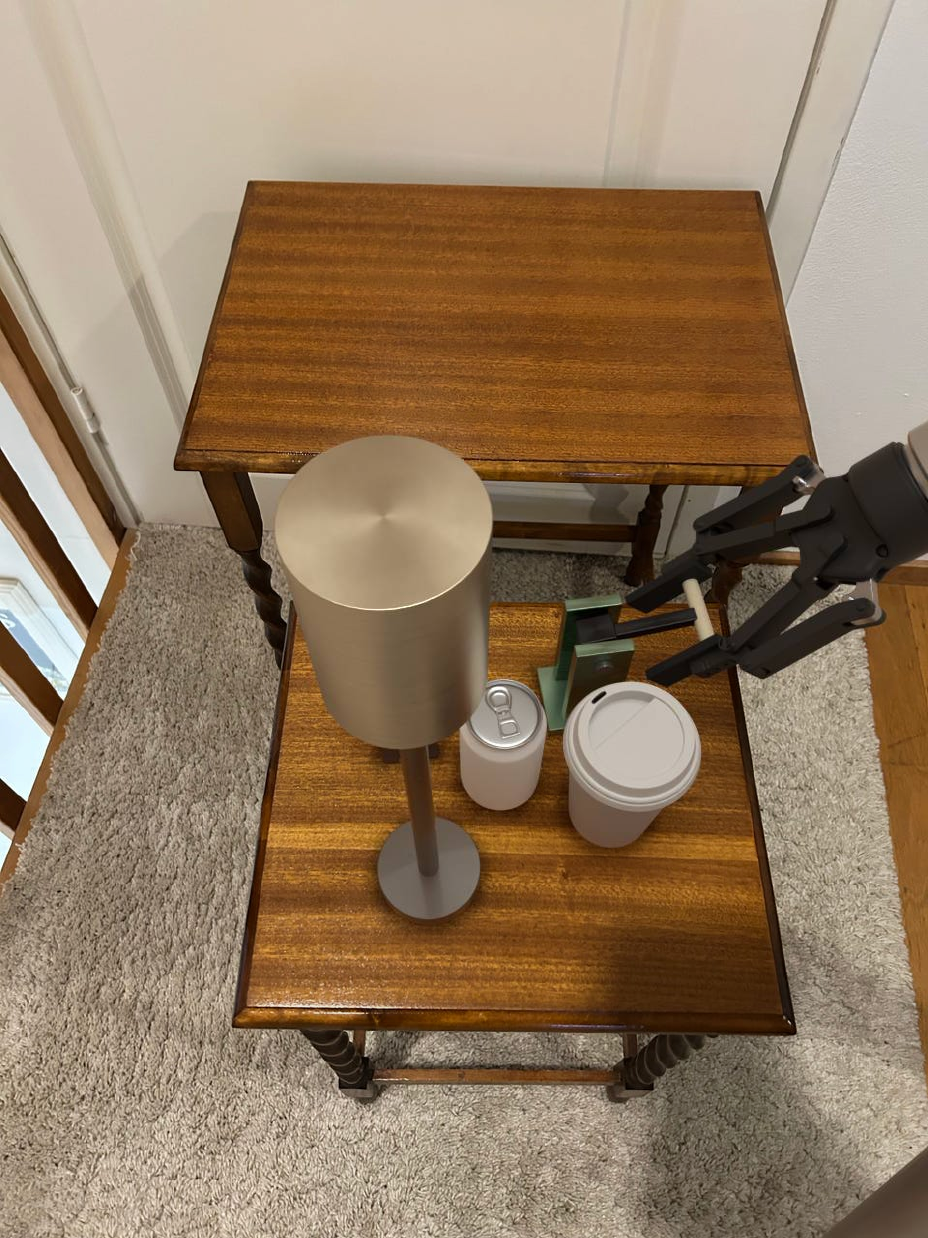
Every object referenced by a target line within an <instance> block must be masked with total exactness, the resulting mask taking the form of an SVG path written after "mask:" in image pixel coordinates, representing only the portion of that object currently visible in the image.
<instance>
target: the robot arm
mask: <svg viewBox="0 0 928 1238" xmlns="http://www.w3.org/2000/svg"><path fill="white" fill-rule="evenodd" d="M805 496H806V497H807V496H809V498H808V499H807V501H806V503H805V504H804V506H803V508H802V509H799V510H795V511H790V512H787V513H784V514H780V515H776V516H775V517H774V519H773V520H769V521H767V522H763V523H759V524H755V523H756V522H758V521H761V520H762V519H764V518H766V517H768V516H770V515H772V514H774V513H776V512H778V511H780V510H782V509H784V508H786V507H788V506H790V505H792V504H793V503H795V502H798V501H799V500H800V499H801V498H804V497H805ZM752 524H755V525H752ZM750 525H751V526H750ZM692 529H693V531H695V542H693V544H692V546H691V547H690V548H689V549H687V550H686V551H684V552H683V553H681V554H679V555H678V556H676V557H674V558H673V559H671V560H669V561H667V562H666V563H664V564H663V565H662V566H661V568H660V572H661V575H659V576H657V577H656V578H654V579H652V580H650V581H649V582H647V583H645V584H644V585H641V586H640V587H638V588H637V589H635V590H633V591H632V592H630V593H628V594H627V595H625V596H624V600H625V604H626V605H627V606H629V607H631V608H632V609H635V610H637V611H639V612H641V613H642V614H645V615H647V614H649V613H651V612H653V611H655V610H656V609H658V608H660V607H662V606H664V605H666V604H667V603H669V602H671V601H673V600H674V599H676V598H677V597H679V596H681V595H683V594H685V593H684V589H683V586H682V584H683V582H684V581H686V580H688V579H696V580H697V581H698V584H699V585H701V584H703V583H704V582H706V581H708V580H709V579H711V578H713V577H714V576H715V575H714V572H713V570H712V568H711V567H710V566H709V565H712V566H713V567H715V568H717V569H721V568H722V567H721V566H720V565H721V564H724V563H729V562H734V561H737V560H742V559H746V558H750V557H754V556H758V555H762V554H766V553H770V552H775V551H779V550H783V549H788V548H795V549H798V551H799V560H800V564H799V565H798V566H797V567H796V568H795V569H794V570H793V571H792V572H791V575H790V579H789V580H788V581H787V582H786V583H785V584H784V585H783V586H782V587H781V588H780V589H779V590H777V591H776V592H775V593H774V594H773V595H772V596H771V597H770V598H769V599H768V600H767V601H765V603H764V604H762V605H761V606H760V607H759V608H758V609H757V610H756V611H755V612H754V613H753V614H752V615H751V616H750V617H749V618H747V619H746V620H745V621H744V622H743V623H742V624H741V625H740V626H739V627H737V628H736V630H735V631H734V632H732V633H731V634H730V636H728V637H726V636H723V635H722V634H720V633H718V632H716V633H714V635H712V636H710V637H708V638H706V639H704V640H702V641H698V642H696V643H694V644H692V645H691V646H689V647H687V648H685V649H683V650H682V651H680V652H677V653H676V654H674V655H672V656H670V657H667V658H666V659H664V660H662V661H660V662H658V663H656V664H654V665H653V666H651V667H649V668H647V669H645V670H644V674H645V678H646V680H647V681H650V682H652V683H655V684H657V685H659V686H662V687H665V688H669V687H671V686H673V685H675V684H677V683H679V682H681V681H683V680H685V679H687V678H689V677H691V676H693V675H694V676H695V677H698V678H701V679H710V678H712V677H714V676H715V675H718V674H720V673H721V672H722V673H723V672H724V671H726V670H729V669H730V668H732V667H734V666H736V665H738V667H739V669H740V670H741V671H743V673H746V674H749V675H751V676H753V677H755V678H757V679H759V680H767V679H768V678H770V677H772V676H774V675H776V674H777V673H779V672H781V671H782V670H784V669H786V668H788V667H790V666H792V665H794V664H795V663H797V662H799V661H801V660H803V659H804V658H806V657H808V656H809V655H811V654H814V653H815V652H816V651H818V650H820V649H822V648H824V647H826V646H828V645H830V644H831V643H833V642H834V641H836V640H838V639H840V638H842V637H844V636H845V635H847V634H849V633H851V632H852V631H856V630H861V629H867V628H872V627H876V626H880V625H882V624H884V622H885V621H886V620H887V613H886V611H885V610H884V608H882V607H881V606H880V604H879V592H878V584H879V583H881V582H882V581H883V579H884V578H885V577H886V576H887V574H889V572H890V571H892V570H893V569H894V568H896V567H899V566H902V565H904V564H908V563H911V562H913V561H915V560H917V559H919V558H921V557H923V556H925V555H927V554H928V420H927V421H924V422H923V423H921V424H919V425H917V426H916V427H914V428H912V429H911V430H909V431H908V434H907V443H906V444H904V443H903V442H901V441H897V442H895V441H891V442H889V443H888V444H886V445H884V446H882V447H880V448H879V449H877V450H875V451H874V452H872V453H870V454H869V455H867V456H866V457H864V458H862V459H860V460H859V461H856V463H853V464H851V466H850V467H849V469H848V470H847V472H845V473H843V474H841V475H837V476H829V477H827V476H826V475H825V471H824V469H823V468H822V467H821V466H819V465H818V464H817V463H816V462H814V460H812V459H811V458H810V457H809V456H808V455H806V454H799V455H798V456H796V457H795V458H794V459H793V460H792V461H790V463H789V464H788V465H786V467H784V469H783V470H781V471H780V473H778V474H777V475H775V476H773V477H771V478H769V479H768V480H766V481H764V482H761V483H760V484H758V485H756V486H755V487H752V488H751V489H748V490H747V491H745V492H743V493H741V494H739V495H738V496H736V497H734V498H732V499H730V500H728V501H727V502H724V503H723V504H721V505H719V506H717V507H715V508H713V509H712V510H710V511H708V512H706V513H704V514H702V515H700V516H698V517H697V518H696V519H695V520H693V523H692ZM840 585H847V586H855V587H854V589H853V590H852V591H851V592H849V593H846V594H843V595H842V597H841V602H837V603H834V604H831V605H829V606H827V607H825V608H823V609H822V610H820V611H818V612H816V613H814V614H813V615H811V616H809V617H808V618H806V619H804V620H802V621H801V622H799V623H797V624H795V625H793V626H792V627H791V628H789V627H790V626H791V625H792V624H793V623H794V622H796V621H797V620H798V619H799V618H800V617H801V616H802V615H803V614H804V613H805V612H807V611H808V610H809V608H811V607H812V606H813V605H814V604H815V603H816V602H818V601H822V600H824V599H826V598H827V597H828V596H830V595H831V594H832V593H833V592H834V591H835V590H836V589H837V588H838V587H839V586H840ZM787 628H789V629H787ZM785 630H786V631H785ZM820 1238H928V1145H927V1146H926V1147H925V1148H924V1149H923V1150H921V1151H920V1152H919V1153H918V1154H917V1155H915V1157H913V1158H912V1159H911V1160H910V1161H908V1162H907V1163H906V1164H904V1166H903V1167H902V1168H900V1169H899V1170H898V1171H897V1172H895V1173H894V1174H893V1175H892V1176H891V1177H890V1178H889V1179H887V1181H885V1182H884V1183H882V1185H880V1186H879V1187H878V1188H877V1189H876V1190H875V1191H873V1192H872V1193H871V1194H870V1195H869V1196H868V1197H866V1198H865V1199H864V1200H863V1201H862V1202H860V1203H859V1205H857V1206H856V1207H855V1208H854V1209H852V1210H851V1211H850V1212H849V1213H847V1214H846V1215H845V1216H844V1217H842V1219H841V1220H840V1221H838V1222H837V1223H836V1224H835V1225H834V1226H832V1227H831V1228H830V1229H829V1230H828V1231H827V1232H825V1233H824V1234H823V1235H822V1236H820Z"/></svg>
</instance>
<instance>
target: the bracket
mask: <svg viewBox="0 0 928 1238" xmlns="http://www.w3.org/2000/svg"><path fill="white" fill-rule="evenodd" d="M623 605H624V603H623V600H622V596H621V593H616V594H606V595H599V596H591V597H582V598H581V597H580V598H574V599H566V600H563V605H562V612H561V618H560V624H559V631H558V637H557V643H556V649H555V656H554V661H553V665H552V666H545V667H543V666H542V667H537V668H536V673H535V675H536V681H537V686H538V692H539V696H540V703H541V705H542V707H543V709H544V712H545V715H546V721H547V729H546V732H547V735H548V737H553V736H559V735H564V729H565V726H566V723H567V720H568V718H569V716H570V714H571V713H572V711H573V710H574V708H575V707H576V706H577V705H578V704H579V703H580V702H581V701H582V700H583V699H584V698H585V697H586V696H587V695H589V694H590V693H592V692H593V691H595V690H597V689H599V688H601V687H604V686H607V685H610V684H614V683H621V682H627V678H628V674H629V671H630V669H631V664H632V662H633V658H634V655H635V651H636V647H635V643H634V638H631V639H623V640H615V641H607V642H599V643H591V644H583V645H579V643H578V639H577V634H576V627H575V621H576V620H581V619H586V618H591V617H596V616H601V615H605V614H611V616H612V620H613V624H615V623H619V621H620V617H621V612H622V610H623V609H622V608H623Z"/></svg>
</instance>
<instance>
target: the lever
mask: <svg viewBox="0 0 928 1238" xmlns="http://www.w3.org/2000/svg"><path fill="white" fill-rule="evenodd" d="M682 586H683V589H684V593H683V594H684V596H685V599H686V603H687V605H688V608H684V609H679V610H674V611H669V612H664V613H659V614H654V615H650V616H645V617H639V618H636V619H630V620H625V621H620V622H618V623H615V624H613V620H612V616H611V614H605V615H601V616H596V617H591V618H586V619H581V620H576V621H575V627H576V634H577V639H578V643H579V645H583V644H591V643H599V642H607V641H615V640H623V639H631V638H632V639H635V638H640V637H645V636H646V637H647V636H650V635H655V634H659V633H665V632H670V631H674V630H675V631H676V630H679V629H684V628H690V627H694V628H695V631H696V634H697V638H698V642H700V641H702V640H704V639H706V638H708V637H710V636H712V635H714V634H715V631H714V628H713V625H712V622H711V619H710V616H709V612H708V610H707V607H706V603H705V600H704V597H703V594H702V591H701V587H700V584H698V581H697V580H696V579H688V580H686V581H684V582H683V584H682Z"/></svg>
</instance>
